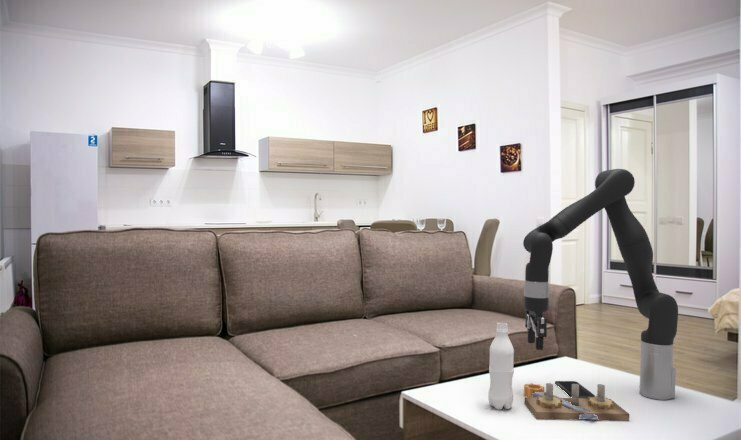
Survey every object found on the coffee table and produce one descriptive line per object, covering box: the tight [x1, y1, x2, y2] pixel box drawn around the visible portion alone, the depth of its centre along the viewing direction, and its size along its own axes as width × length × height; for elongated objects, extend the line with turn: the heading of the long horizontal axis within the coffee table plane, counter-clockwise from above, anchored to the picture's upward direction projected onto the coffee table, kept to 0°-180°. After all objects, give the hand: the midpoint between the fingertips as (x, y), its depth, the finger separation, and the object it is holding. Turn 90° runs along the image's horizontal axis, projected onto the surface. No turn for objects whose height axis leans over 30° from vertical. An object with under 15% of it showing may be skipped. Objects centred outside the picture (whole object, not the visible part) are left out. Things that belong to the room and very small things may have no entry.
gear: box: [523, 383, 545, 397], centre depth 168 cm, size 6×6×3 cm
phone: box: [554, 380, 596, 398], centre depth 174 cm, size 8×1×15 cm
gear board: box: [524, 382, 630, 422], centre depth 155 cm, size 26×12×8 cm, turn 90°
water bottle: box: [488, 321, 515, 410], centre depth 158 cm, size 7×7×25 cm
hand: (535, 346), depth 167 cm, fingers open, 8 cm apart
